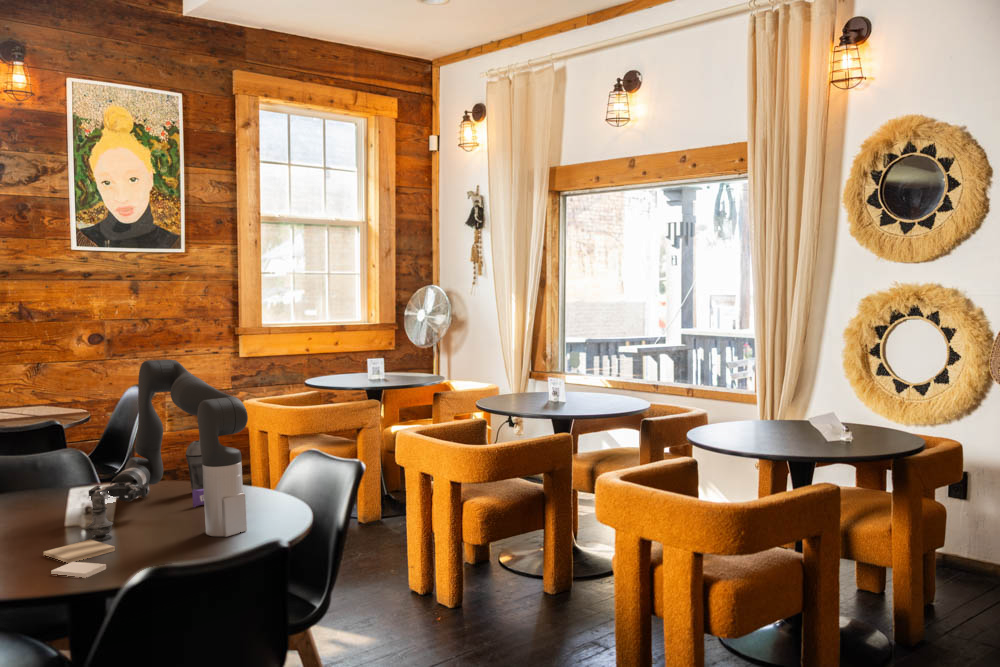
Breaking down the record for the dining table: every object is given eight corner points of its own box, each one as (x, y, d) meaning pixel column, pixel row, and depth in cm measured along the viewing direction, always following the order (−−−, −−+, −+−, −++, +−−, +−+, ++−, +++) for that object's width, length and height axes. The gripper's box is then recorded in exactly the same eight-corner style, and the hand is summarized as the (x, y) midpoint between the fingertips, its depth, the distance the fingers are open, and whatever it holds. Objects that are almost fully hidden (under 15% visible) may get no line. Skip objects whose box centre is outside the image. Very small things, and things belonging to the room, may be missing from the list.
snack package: (194, 508, 240) (193, 490, 239) (191, 507, 241) (190, 489, 241) (231, 499, 248) (231, 482, 248) (228, 498, 250) (227, 481, 249)
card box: (106, 571, 189) (105, 564, 189) (85, 580, 183) (85, 573, 183) (73, 568, 192) (72, 561, 192) (51, 577, 186) (51, 570, 186)
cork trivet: (114, 550, 202) (114, 546, 202) (68, 563, 193) (67, 559, 193) (90, 543, 208) (89, 539, 208) (43, 555, 200) (43, 551, 200)
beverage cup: (186, 491, 260) (182, 425, 258) (211, 488, 263) (208, 423, 261) (188, 496, 253) (185, 428, 252) (214, 493, 256) (211, 426, 255)
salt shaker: (95, 543, 208) (92, 494, 207) (82, 540, 212) (79, 491, 211) (118, 537, 213) (115, 489, 212) (106, 534, 216) (103, 486, 216)
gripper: (100, 471, 237) (81, 485, 221) (155, 468, 240) (140, 482, 224) (102, 498, 238) (83, 514, 222) (156, 495, 240) (141, 510, 224)
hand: (111, 498), depth 223 cm, fingers open, 8 cm apart
